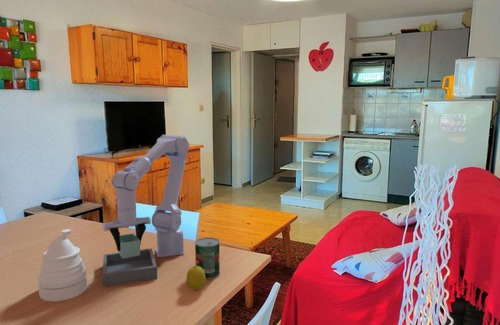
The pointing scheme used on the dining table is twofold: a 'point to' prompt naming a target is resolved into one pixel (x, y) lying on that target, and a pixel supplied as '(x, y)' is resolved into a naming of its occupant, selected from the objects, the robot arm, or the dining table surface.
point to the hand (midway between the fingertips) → (128, 248)
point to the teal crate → (129, 245)
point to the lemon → (196, 278)
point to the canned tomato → (208, 256)
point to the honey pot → (62, 271)
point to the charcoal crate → (128, 268)
